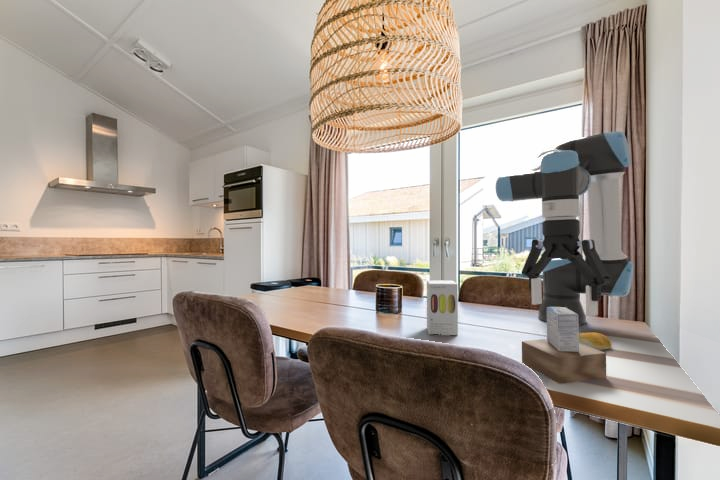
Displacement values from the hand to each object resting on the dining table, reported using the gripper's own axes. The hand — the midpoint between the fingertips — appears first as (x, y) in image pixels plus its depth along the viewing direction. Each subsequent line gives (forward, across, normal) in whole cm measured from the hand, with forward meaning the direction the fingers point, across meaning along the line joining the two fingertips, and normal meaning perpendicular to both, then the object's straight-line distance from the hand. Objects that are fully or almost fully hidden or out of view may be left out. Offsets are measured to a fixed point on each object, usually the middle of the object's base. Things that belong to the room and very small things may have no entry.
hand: (562, 309), depth 79 cm
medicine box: (+9, 0, 0) cm, 9 cm away
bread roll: (+15, -8, +23) cm, 28 cm away
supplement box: (+15, -39, -6) cm, 42 cm away
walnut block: (+15, 0, -1) cm, 15 cm away
